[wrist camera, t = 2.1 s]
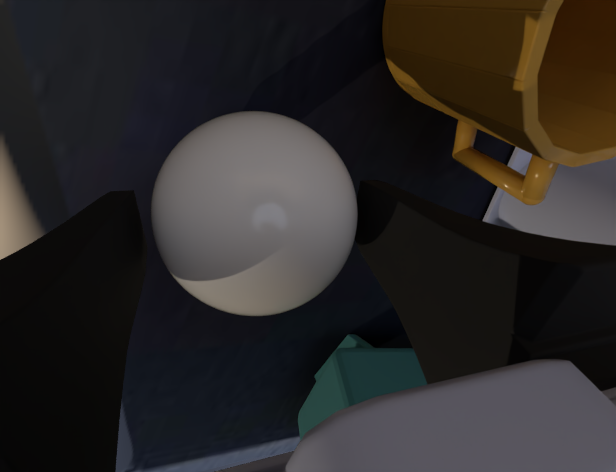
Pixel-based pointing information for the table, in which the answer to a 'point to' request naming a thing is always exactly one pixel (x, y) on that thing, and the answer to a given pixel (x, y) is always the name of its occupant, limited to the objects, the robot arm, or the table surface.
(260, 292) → the lightbulb
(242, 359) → the table surface
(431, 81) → the mug
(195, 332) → the table surface
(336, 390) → the radio
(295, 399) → the table surface
